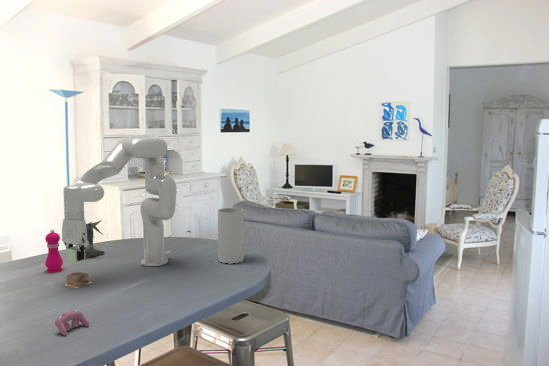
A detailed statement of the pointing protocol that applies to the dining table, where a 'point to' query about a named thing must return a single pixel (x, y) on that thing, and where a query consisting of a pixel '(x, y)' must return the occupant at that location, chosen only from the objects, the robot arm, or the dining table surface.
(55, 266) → the pepper mill
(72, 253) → the sage block
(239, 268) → the dining table surface
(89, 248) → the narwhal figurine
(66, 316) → the video game controller
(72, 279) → the walnut base block
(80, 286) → the cream wavy board
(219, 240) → the cylinder vase
